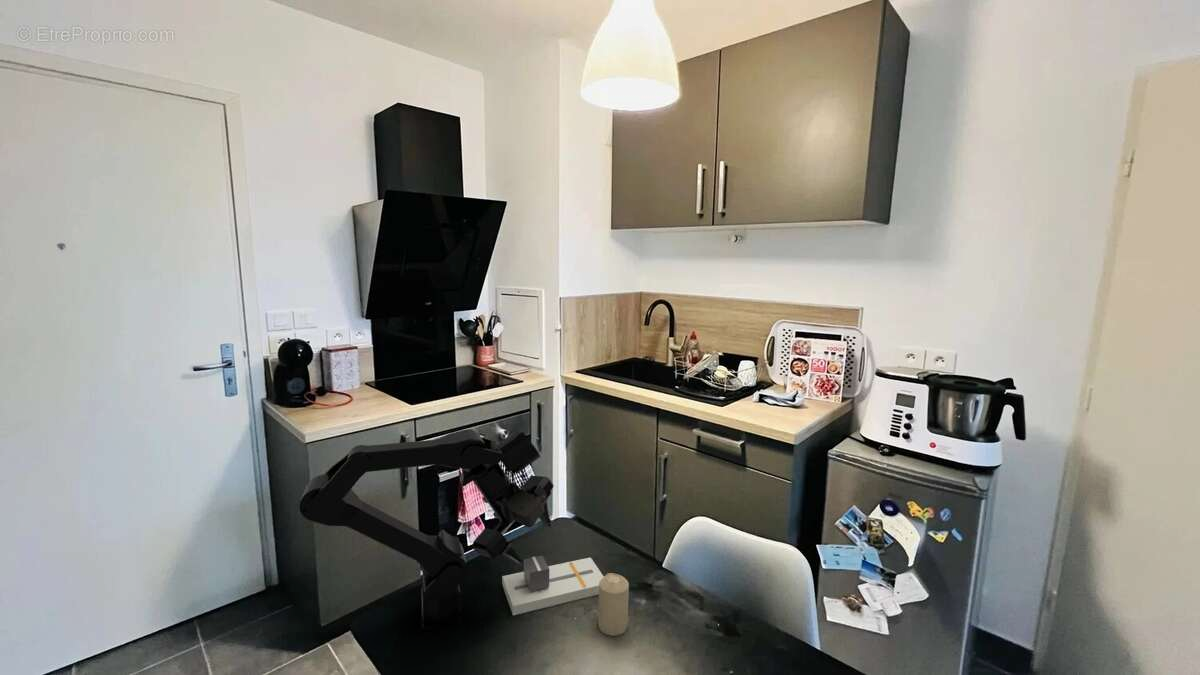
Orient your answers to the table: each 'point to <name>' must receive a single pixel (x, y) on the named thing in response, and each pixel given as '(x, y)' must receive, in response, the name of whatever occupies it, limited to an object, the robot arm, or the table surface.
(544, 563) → the fader
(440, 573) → the robot arm
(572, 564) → the slider track board
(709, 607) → the table surface
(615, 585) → the candle
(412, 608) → the table surface
